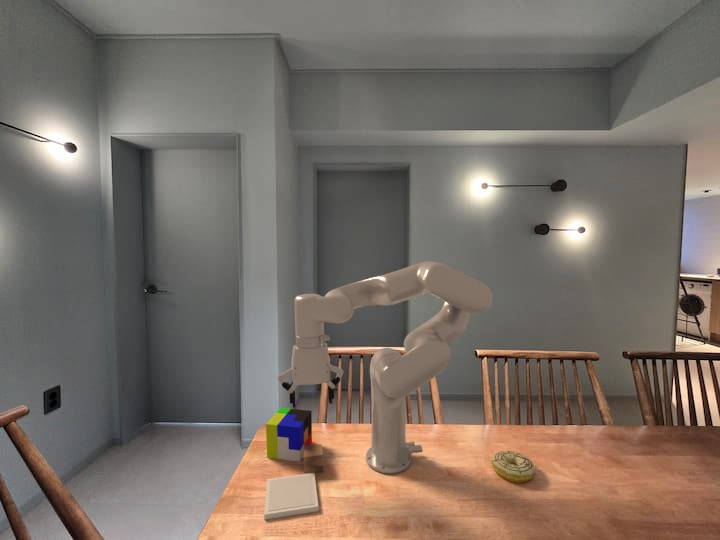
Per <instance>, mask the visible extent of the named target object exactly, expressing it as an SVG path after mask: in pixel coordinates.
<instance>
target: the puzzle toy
mask: <svg viewBox="0 0 720 540" xmlns="http://www.w3.org/2000/svg"><path fill="white" fill-rule="evenodd" d="M312 413H313V411H312V410H307V409H299V408H297V409H296V408H287V407H280V408H279V409H278V411H276V412H275V413H274V415H272V417H271V418H270V419H269V420H268V421H267V423H265V426H266V427H265V432H266V458H268V459H278V460H285V461H293V462H302V459H303V446H311V444H312V442H313V431H312V430H313V429H312V423H313V422H312V420H313V419H312V417H313V416H312V415H313V414H312Z"/></svg>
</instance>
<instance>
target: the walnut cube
mask: <svg viewBox="0 0 720 540" xmlns="http://www.w3.org/2000/svg"><path fill="white" fill-rule="evenodd" d="M322 446H323V445H322V444H320V443H319V444H312V445H311V444H310V446H303V458H302V459H303V461H302V462H303V472H304V473H303V474H308V473H314V474H321V473H324V452H323V447H322Z"/></svg>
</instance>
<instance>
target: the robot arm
mask: <svg viewBox="0 0 720 540" xmlns="http://www.w3.org/2000/svg"><path fill="white" fill-rule="evenodd" d="M427 294H429V295H431V296H434V297H435V298H437V299H440V300H442V301H443V306H442V308H441V309H440V311H439V312H437V313H436V314H435V315H434V316H433V317H432V318H430V319H429V320H427V321H424V323H422V324H421V325H420V326H418V327H416V328H415V329H414V330H412V331H411V332H409V333H408V334H407V335H406V336H405V338H404V341H403V348H404V351H405V353H403V354H401V352H399V351H398V350H396V349H394V348H392V347H382V348H380V349H377V351H376V352H374V353H373V354H372V357H371V359H370V362H369V363H370V364H369V376H370V377H369V378H370V387H371V447H370V448H369V449H368V450H367V451H366V454H365V460H366V463H367V465H368V466H369V467H370V468H371V469H372V470H374V471H375V472H378V473H381V474H397V473H401V472H404V471H405V470H407V469H408V468H409V467H410V465H411V463H412V455H413V454H417V453H422V452H423V446H422V445H421V444H415V441H409V442H407V441H406V431H407V430H406V428H407V427H406V425H407V424H406V423H407V422H406V418H407V417H406V415H407V414H406V412H407V411H406V410H407V409H406V408H407V396H409V395H411V394H413V393H414V392H415V391H417V390H419V389H420V388H421V387H423V386H424V385H426V384H427V383H428V382H430V381H432V380H433V379H434V378H436V377H437V376H438V375H440V374H441V373H442V372H443V371H445V369H446V368H447V366H448V364H449V362H450V360H451V349H450V347H449V346H450V345H451V343H453V342H454V341H455V340H456V339H458V338H459V337H460V336H461V335H462V334H464V332H465V330H466V329H467V325H468V324H469V323H468V322H469V320H470V315H471V314H472V315H481V314H483V313H486V311H488V310H490V308H491V307H492V303H493V294H492V291H491V289H490V287H488V286H487V285H486V284H485V283H483V282H481V281H480V280H477V279H475V278H474V277H471V276H469V275H467V274H465V273H463V272H461V271H459V270H457V269H455V268H453V267H451V266H450V265H447V264H445V263H442V262H437V261H429V260H428V261H421V262H419V263H416V264H413V265H410V266H407V267H404V268H402V269H401V268H400V269H397V270H395V271H392V272H388V273H385V274H382V275H377V276H374V277H370V278H368V279H362V280H359V281H356V282H351V283H348V284H346V285H342V286H340V287H336V288H334V289H331V290H329V291H328V292H327V293H326V294H325V295H324V296H322V295H320V294H317V293H303V294H299V295H297V296H296V297H295V298H294V302H293V303H294V324H295V325H294V326H295V327H294V329H295V344H294V345H293V346H292V350H291V351H292V353H291V367H290V368H288V369H287V370H285V371H284V372H282V373H280V374H278V375H277V380H278V382H279V383H280V384H281V386H282V388H283V389H285V390H286V391H287V392H288V393H289V404H292V409H296V389H297V387H299V386H310V385H311V386H312V385H320V384H326V385H327V401H328V403H329V404H330V405H331V404H333V399H335V389H336V386H337V385H338V384H339V382H341V379H342V377H343V375H344V370H343V368H340V367H339V366H335V365H333V364H331V363H330V362H331V361H330V355H329V348H328V343H326V342H328V341H330V340H331V338H330V337H331V336H330V335H329V334H328V335H327V334H325V323H329V324H332V323H333V324H343V323H346V322H348V321H349V320H350V319H351V318H352V317H353V315H354V312H355V311H354V310H356V309H359V308H363V307H368V306H393V305H398V304H399V303H402V302H405V301H409V300H413V299H415V298H417V297H420V296H424V295H427ZM331 372H332V373H333V372H334V373H335V374H336V376H334V377H333V378H332V377H331ZM289 376H291V380H292V381H291V382H290V383H289V382H287V380H286V379H287V378H288V377H289Z"/></svg>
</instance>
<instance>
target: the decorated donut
mask: <svg viewBox="0 0 720 540" xmlns="http://www.w3.org/2000/svg"><path fill="white" fill-rule="evenodd" d="M491 466H492V468H493V470H494V472H495V473H496V474H497V475H498V476H499V477H501V478H502V479H503V480H505V481H508V482H510V483H515V484H522V483H527V482H529V481H531V480H532V479H533V478H534V475H535V473H536V471H537V469H536V466H535V465H534V463H533V462H532V461H531V459H529V458H528V457H527V456H525V455H524V454H521V453H520V452H518V451H514V450H501V451H499V452H496V453H494V454H493V455H492V457H491Z"/></svg>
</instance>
